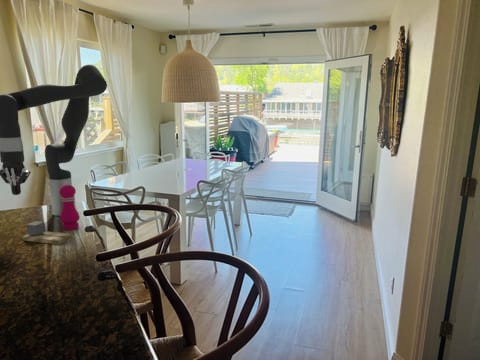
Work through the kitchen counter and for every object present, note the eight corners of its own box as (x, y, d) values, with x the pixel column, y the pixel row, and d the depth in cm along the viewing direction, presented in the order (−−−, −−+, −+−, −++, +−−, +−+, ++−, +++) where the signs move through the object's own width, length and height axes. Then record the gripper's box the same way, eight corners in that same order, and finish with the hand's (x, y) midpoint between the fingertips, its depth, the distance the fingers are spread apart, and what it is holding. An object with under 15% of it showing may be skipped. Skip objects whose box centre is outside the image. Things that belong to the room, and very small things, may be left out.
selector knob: (27, 234, 134) (26, 224, 133) (36, 230, 138) (35, 221, 137) (36, 235, 133) (35, 225, 132) (45, 231, 137) (44, 221, 137)
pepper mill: (83, 225, 151) (79, 180, 147) (74, 231, 144) (70, 183, 140) (67, 224, 152) (63, 179, 147) (57, 230, 144) (52, 183, 140)
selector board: (23, 240, 133) (22, 236, 133) (37, 234, 140) (36, 230, 140) (60, 244, 130) (59, 240, 130) (72, 237, 137) (72, 233, 137)
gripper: (-13, 149, 128) (-7, 195, 132) (18, 151, 126) (23, 198, 129) (4, 147, 136) (9, 191, 139) (34, 149, 133) (39, 193, 137)
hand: (16, 194), depth 134 cm, fingers closed
